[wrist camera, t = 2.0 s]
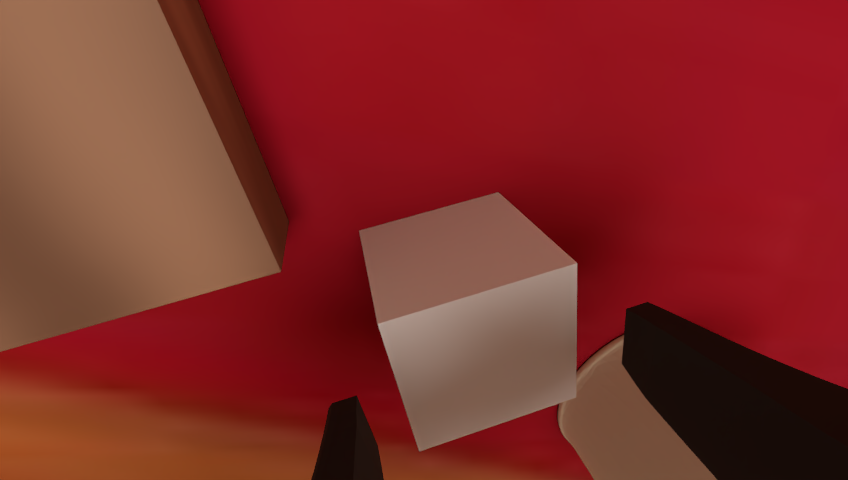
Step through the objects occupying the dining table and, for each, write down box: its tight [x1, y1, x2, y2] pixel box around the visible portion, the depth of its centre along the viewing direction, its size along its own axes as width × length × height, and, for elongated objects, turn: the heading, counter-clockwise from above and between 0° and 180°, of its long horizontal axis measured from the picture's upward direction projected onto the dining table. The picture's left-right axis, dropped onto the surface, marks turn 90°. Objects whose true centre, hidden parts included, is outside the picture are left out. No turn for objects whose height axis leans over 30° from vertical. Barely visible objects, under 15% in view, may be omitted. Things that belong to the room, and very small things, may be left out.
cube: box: [359, 192, 577, 452], centre depth 13 cm, size 5×5×5 cm
